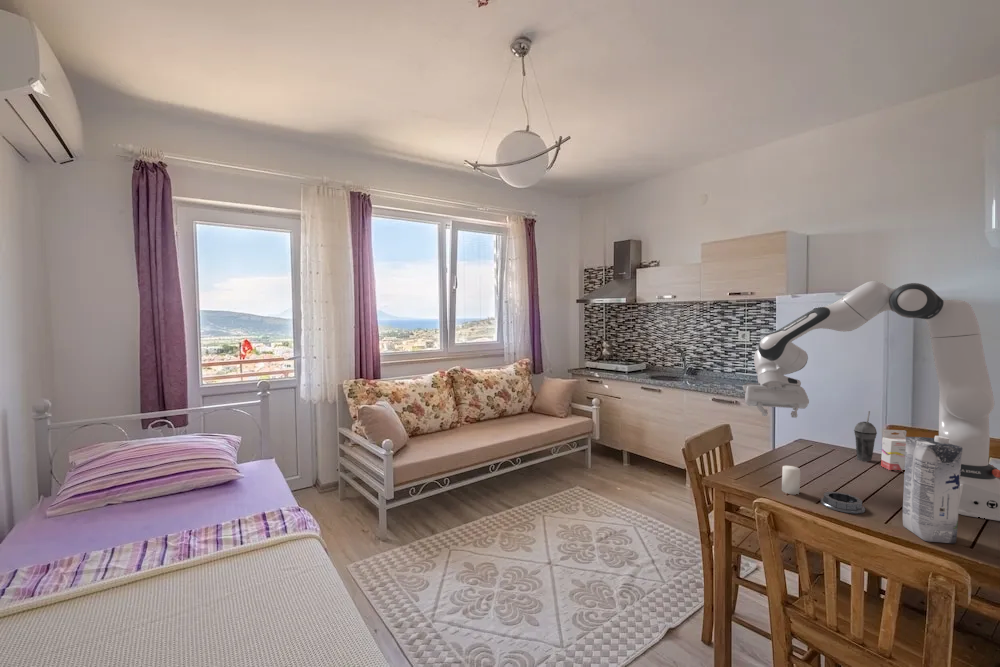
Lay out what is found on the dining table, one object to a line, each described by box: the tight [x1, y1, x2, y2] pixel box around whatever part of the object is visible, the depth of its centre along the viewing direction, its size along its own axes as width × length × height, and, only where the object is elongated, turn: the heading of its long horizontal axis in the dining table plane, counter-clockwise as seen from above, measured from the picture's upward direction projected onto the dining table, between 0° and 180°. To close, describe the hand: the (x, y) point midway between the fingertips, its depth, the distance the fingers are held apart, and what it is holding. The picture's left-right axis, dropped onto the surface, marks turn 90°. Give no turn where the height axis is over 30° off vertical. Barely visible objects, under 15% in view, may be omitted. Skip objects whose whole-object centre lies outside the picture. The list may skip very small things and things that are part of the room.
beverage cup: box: [853, 410, 878, 462], centre depth 184 cm, size 7×7×20 cm
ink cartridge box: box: [880, 429, 907, 471], centre depth 173 cm, size 9×5×15 cm, turn 84°
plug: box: [781, 465, 801, 496], centre depth 152 cm, size 5×5×8 cm
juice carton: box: [902, 435, 963, 544], centre depth 122 cm, size 9×10×27 cm
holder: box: [820, 491, 866, 515], centre depth 141 cm, size 11×11×3 cm
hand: (779, 415), depth 163 cm, fingers open, 8 cm apart
